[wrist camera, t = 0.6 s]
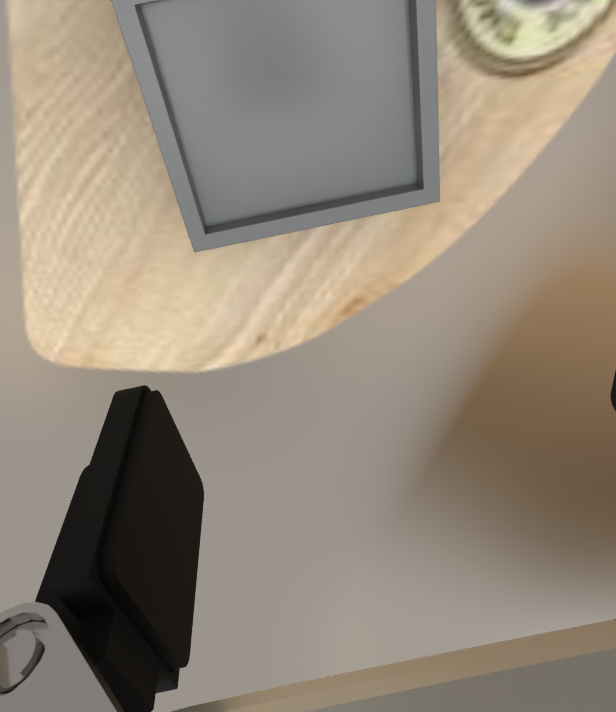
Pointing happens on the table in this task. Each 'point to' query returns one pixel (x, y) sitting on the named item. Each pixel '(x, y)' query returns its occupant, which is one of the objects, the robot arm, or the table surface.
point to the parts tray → (288, 109)
